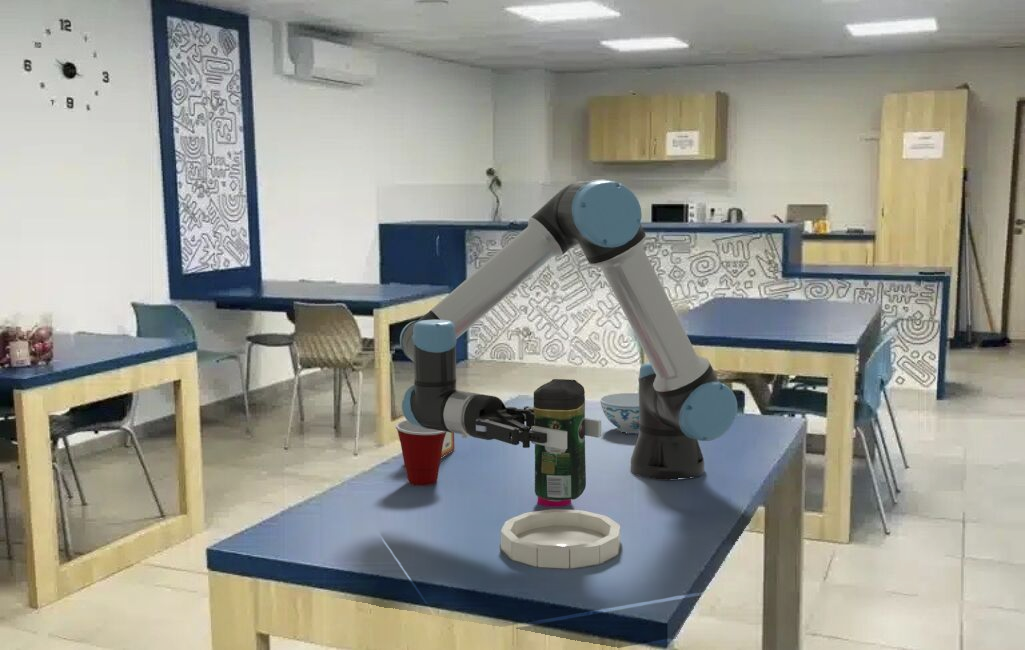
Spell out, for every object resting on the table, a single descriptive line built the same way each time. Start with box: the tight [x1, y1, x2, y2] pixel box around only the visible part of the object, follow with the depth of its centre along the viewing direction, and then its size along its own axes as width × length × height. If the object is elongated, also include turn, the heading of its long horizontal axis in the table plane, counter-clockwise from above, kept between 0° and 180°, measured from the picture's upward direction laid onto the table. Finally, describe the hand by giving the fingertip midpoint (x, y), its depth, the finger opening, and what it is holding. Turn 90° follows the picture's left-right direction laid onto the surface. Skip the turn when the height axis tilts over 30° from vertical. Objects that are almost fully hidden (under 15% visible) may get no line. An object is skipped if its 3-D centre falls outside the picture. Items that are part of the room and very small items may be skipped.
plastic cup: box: [395, 419, 447, 487], centre depth 198 cm, size 11×11×12 cm
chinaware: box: [599, 392, 639, 434], centre depth 238 cm, size 15×15×8 cm
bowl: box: [500, 508, 621, 570], centre depth 160 cm, size 19×19×3 cm
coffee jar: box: [532, 378, 587, 501], centre depth 158 cm, size 10×8×19 cm
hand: (583, 434), depth 155 cm, fingers closed on coffee jar, 8 cm apart
